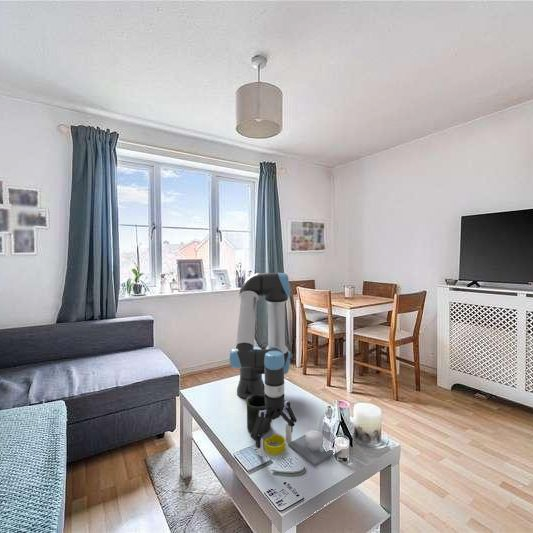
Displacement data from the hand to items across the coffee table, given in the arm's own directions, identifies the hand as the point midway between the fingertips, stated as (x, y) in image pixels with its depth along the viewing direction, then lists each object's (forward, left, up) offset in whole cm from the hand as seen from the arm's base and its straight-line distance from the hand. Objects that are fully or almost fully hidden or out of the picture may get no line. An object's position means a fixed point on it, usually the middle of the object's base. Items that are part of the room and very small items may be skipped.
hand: (274, 448), depth 113 cm
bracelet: (0, 0, -1) cm, 1 cm away
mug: (-16, +3, 0) cm, 16 cm away
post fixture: (+9, +12, 0) cm, 15 cm away
